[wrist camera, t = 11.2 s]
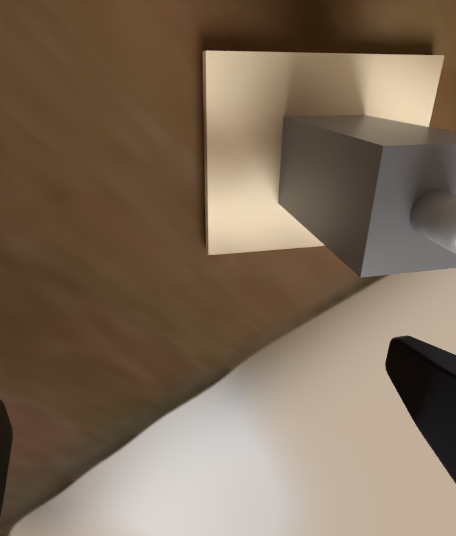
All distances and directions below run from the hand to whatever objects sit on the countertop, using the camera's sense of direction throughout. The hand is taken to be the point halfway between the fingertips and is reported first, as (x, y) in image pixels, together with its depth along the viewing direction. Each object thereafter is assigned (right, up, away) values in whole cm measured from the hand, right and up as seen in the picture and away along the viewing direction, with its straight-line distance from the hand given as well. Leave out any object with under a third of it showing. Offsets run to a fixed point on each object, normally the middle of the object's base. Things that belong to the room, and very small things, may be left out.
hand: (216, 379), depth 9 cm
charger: (+5, +8, +10) cm, 13 cm away
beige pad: (+4, +8, +11) cm, 14 cm away
